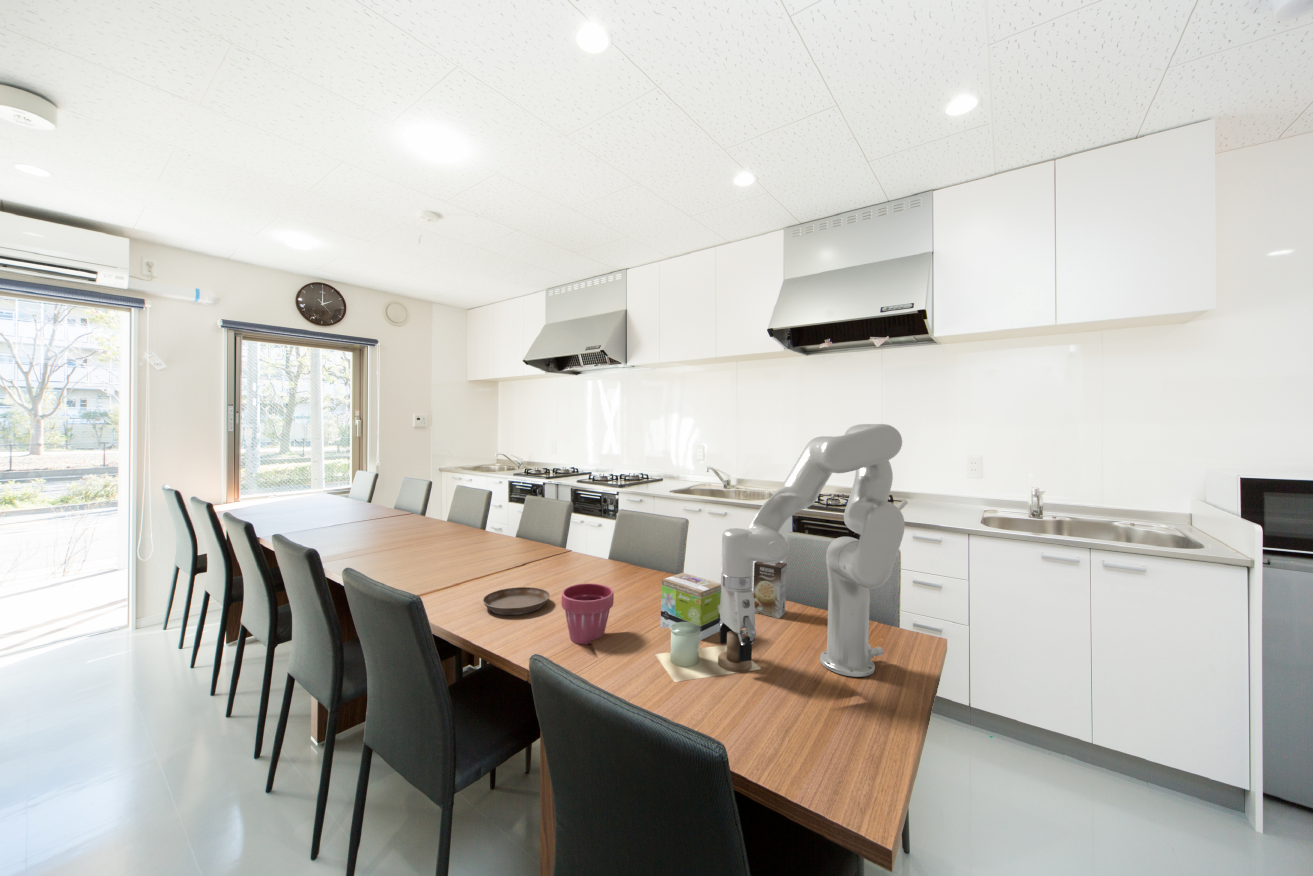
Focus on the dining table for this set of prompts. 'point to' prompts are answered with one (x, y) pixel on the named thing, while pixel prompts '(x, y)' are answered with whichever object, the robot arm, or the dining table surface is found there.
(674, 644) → the jar
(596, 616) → the plant pot
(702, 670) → the board
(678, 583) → the tea box
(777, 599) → the coffee box
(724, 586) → the robot arm
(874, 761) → the dining table surface
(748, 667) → the lid
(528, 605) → the plant saucer
